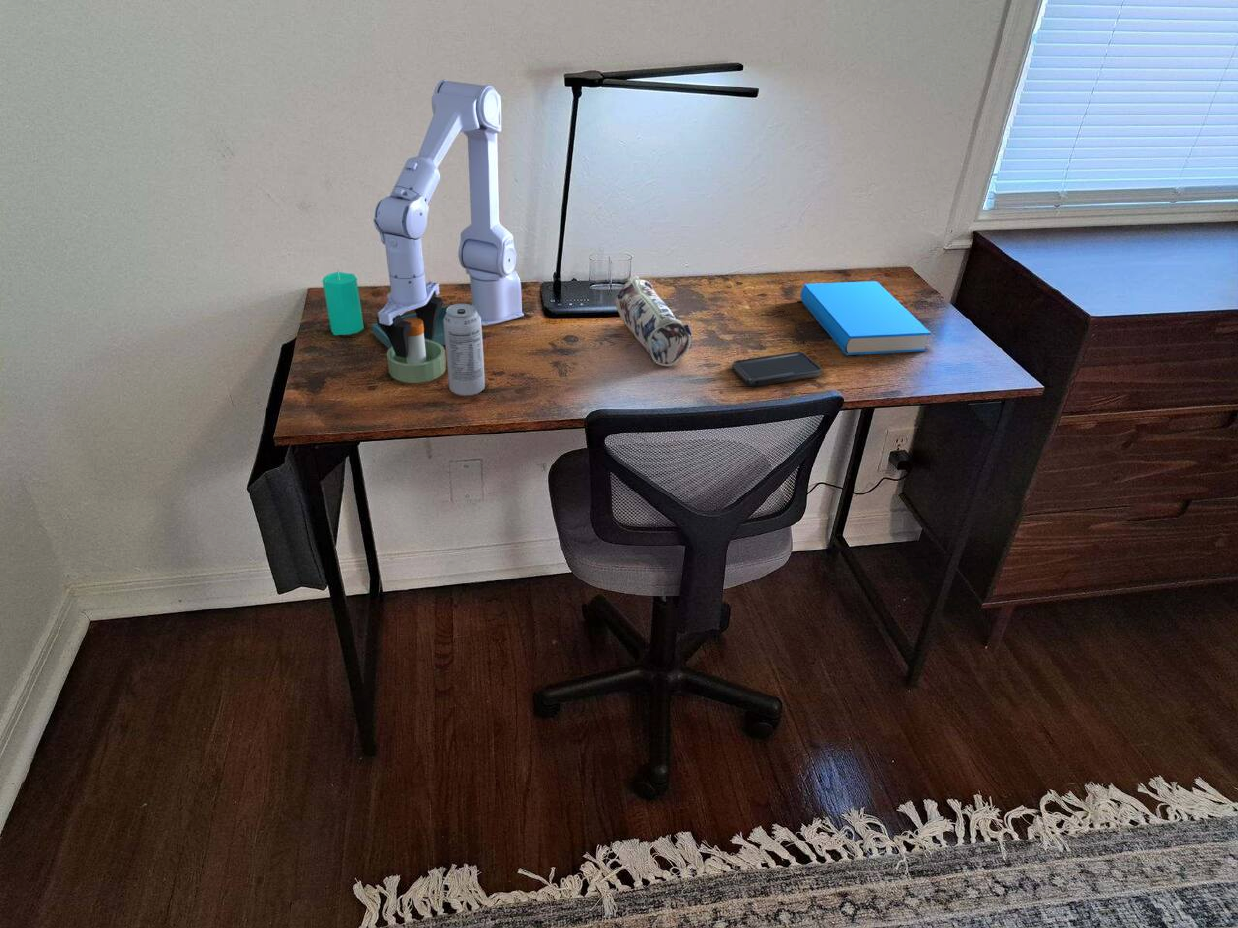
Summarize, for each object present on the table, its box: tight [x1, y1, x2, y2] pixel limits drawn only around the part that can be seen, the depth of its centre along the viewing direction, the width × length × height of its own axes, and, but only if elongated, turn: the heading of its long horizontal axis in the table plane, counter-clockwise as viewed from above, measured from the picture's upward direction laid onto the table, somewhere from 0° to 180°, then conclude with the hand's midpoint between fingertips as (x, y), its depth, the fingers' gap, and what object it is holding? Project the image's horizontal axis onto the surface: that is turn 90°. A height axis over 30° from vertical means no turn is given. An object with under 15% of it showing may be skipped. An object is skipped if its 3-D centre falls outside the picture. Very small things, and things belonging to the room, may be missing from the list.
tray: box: [371, 304, 450, 349], centre depth 158 cm, size 16×11×2 cm
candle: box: [322, 269, 365, 336], centre depth 157 cm, size 6×6×12 cm
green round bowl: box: [386, 340, 447, 384], centre depth 147 cm, size 10×10×4 cm
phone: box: [731, 351, 823, 387], centre depth 152 cm, size 8×1×15 cm
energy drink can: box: [443, 303, 486, 397], centre depth 139 cm, size 6×6×15 cm
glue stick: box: [403, 318, 427, 364], centre depth 145 cm, size 4×4×9 cm
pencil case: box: [614, 275, 693, 367], centre depth 158 cm, size 22×8×10 cm, turn 18°
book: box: [800, 280, 932, 356], centre depth 170 cm, size 17×4×25 cm
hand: (415, 346), depth 145 cm, fingers open, 7 cm apart
